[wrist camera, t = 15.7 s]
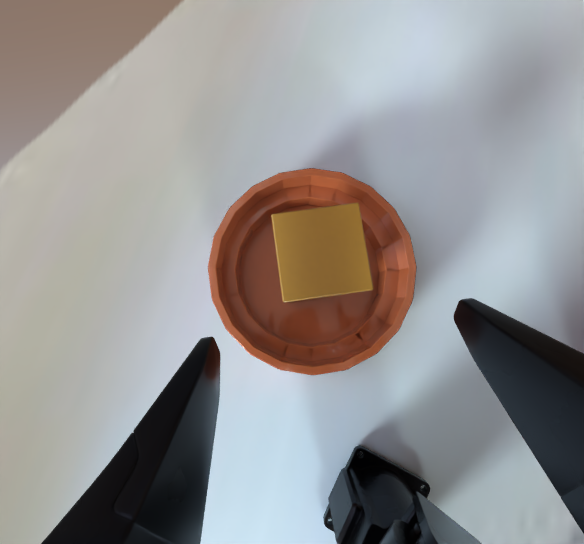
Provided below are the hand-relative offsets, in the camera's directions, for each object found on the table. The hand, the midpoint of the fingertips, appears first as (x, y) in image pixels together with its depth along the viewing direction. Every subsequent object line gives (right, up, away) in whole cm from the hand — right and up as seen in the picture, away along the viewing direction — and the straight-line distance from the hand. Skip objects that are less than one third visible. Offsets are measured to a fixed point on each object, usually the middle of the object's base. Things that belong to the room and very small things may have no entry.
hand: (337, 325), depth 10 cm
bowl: (0, +2, +14) cm, 14 cm away
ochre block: (0, +2, +13) cm, 14 cm away
